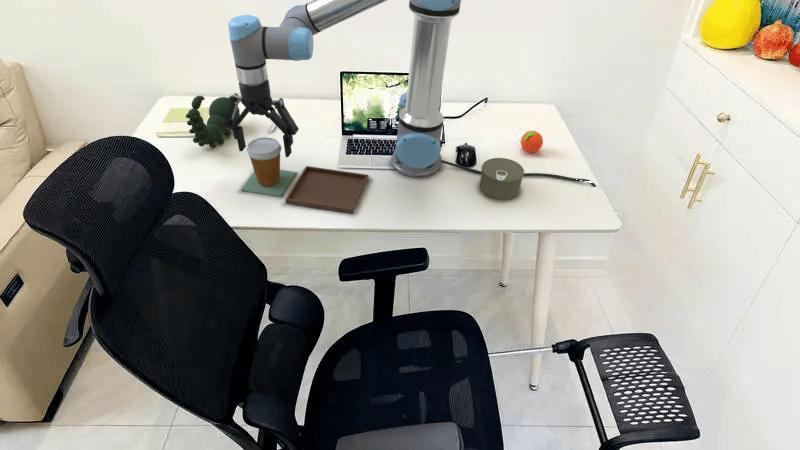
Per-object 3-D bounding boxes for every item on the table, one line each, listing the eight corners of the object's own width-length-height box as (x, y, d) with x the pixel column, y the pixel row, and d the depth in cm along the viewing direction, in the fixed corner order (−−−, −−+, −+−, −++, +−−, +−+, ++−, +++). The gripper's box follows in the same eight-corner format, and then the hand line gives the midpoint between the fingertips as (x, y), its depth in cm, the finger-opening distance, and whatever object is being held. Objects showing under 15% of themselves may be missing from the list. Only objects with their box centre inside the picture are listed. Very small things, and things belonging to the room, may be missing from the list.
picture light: (282, 112, 189) (281, 106, 188) (294, 113, 189) (294, 108, 188) (270, 132, 179) (269, 126, 177) (282, 133, 178) (282, 127, 177)
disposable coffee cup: (250, 174, 159) (244, 138, 151) (283, 169, 161) (278, 134, 153) (253, 192, 152) (247, 156, 144) (287, 187, 154) (283, 151, 147)
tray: (368, 178, 160) (368, 174, 159) (352, 214, 147) (352, 209, 146) (306, 170, 162) (306, 165, 161) (285, 203, 149) (285, 199, 148)
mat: (296, 173, 161) (295, 172, 160) (281, 197, 151) (280, 195, 151) (258, 168, 162) (257, 166, 162) (241, 191, 153) (240, 189, 153)
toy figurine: (217, 161, 167) (251, 117, 184) (202, 109, 154) (240, 67, 171) (190, 157, 169) (226, 114, 186) (172, 104, 155) (213, 63, 173)
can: (522, 181, 161) (526, 161, 156) (517, 204, 152) (521, 184, 148) (482, 173, 163) (485, 154, 159) (475, 196, 154) (478, 176, 150)
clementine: (527, 160, 170) (532, 140, 165) (512, 150, 174) (515, 131, 170) (545, 152, 174) (549, 133, 169) (529, 143, 178) (533, 124, 173)
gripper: (305, 78, 138) (312, 150, 151) (214, 69, 141) (229, 139, 155) (294, 91, 132) (303, 164, 146) (200, 81, 136) (217, 153, 149)
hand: (265, 151), depth 150 cm, fingers open, 13 cm apart
